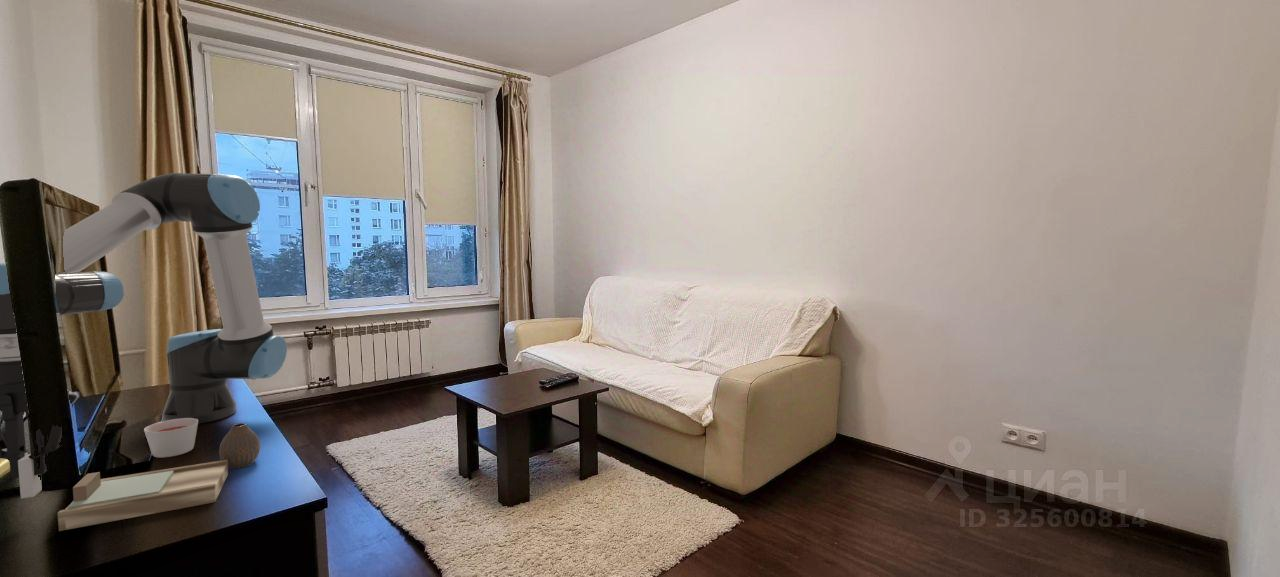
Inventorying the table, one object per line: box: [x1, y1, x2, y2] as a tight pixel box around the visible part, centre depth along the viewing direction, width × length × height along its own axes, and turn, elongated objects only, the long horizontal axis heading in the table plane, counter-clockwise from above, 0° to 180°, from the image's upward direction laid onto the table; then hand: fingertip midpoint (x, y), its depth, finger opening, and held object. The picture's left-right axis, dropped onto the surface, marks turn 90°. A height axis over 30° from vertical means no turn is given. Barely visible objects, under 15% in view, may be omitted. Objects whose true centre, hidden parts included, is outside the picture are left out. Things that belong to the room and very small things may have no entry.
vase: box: [218, 422, 261, 469], centre depth 110 cm, size 7×7×9 cm
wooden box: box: [57, 460, 229, 532], centre depth 95 cm, size 13×20×3 cm, turn 121°
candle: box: [143, 418, 199, 459], centre depth 115 cm, size 9×9×6 cm
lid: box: [66, 471, 174, 509], centre depth 92 cm, size 10×11×3 cm
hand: (31, 494), depth 87 cm, fingers closed
